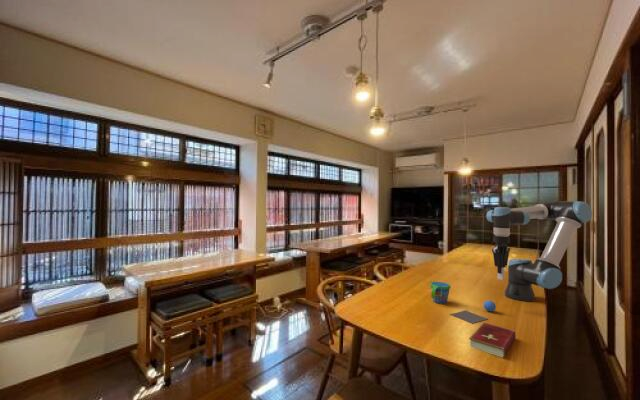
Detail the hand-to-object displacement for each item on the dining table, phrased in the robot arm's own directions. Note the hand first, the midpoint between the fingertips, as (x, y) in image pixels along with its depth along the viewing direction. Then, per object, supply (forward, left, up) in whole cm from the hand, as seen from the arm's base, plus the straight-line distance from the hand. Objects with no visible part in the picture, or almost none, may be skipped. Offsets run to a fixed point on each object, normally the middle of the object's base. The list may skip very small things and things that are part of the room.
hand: (500, 279), depth 154 cm
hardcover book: (+29, +37, -17) cm, 49 cm away
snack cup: (+28, -10, -16) cm, 34 cm away
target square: (+24, +11, -16) cm, 31 cm away
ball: (+8, +4, -13) cm, 16 cm away
